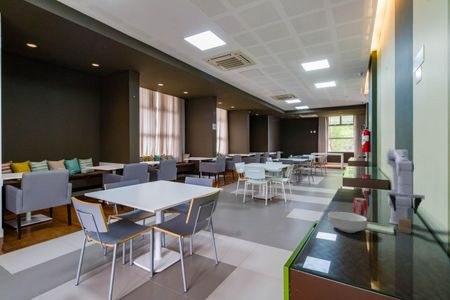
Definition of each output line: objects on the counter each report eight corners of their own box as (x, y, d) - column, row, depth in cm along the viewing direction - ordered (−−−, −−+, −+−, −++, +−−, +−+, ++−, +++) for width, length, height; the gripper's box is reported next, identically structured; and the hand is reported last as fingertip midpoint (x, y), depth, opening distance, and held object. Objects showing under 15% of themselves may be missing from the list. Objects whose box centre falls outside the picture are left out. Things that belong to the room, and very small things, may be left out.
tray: (365, 223, 121) (365, 221, 121) (392, 228, 114) (392, 226, 114) (363, 229, 111) (364, 226, 111) (393, 235, 104) (393, 232, 104)
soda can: (369, 222, 123) (369, 200, 123) (355, 220, 125) (356, 199, 125) (363, 218, 130) (364, 198, 130) (350, 217, 132) (351, 197, 132)
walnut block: (398, 229, 113) (398, 217, 113) (409, 231, 110) (410, 219, 110) (398, 231, 109) (399, 219, 109) (410, 234, 106) (411, 221, 106)
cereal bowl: (366, 228, 112) (367, 215, 112) (366, 239, 98) (367, 223, 98) (329, 222, 121) (330, 209, 121) (325, 230, 107) (325, 216, 107)
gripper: (387, 182, 112) (386, 210, 110) (425, 186, 103) (425, 215, 101) (386, 183, 117) (386, 209, 116) (423, 186, 109) (423, 214, 107)
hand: (404, 212), depth 109 cm, fingers open, 7 cm apart
